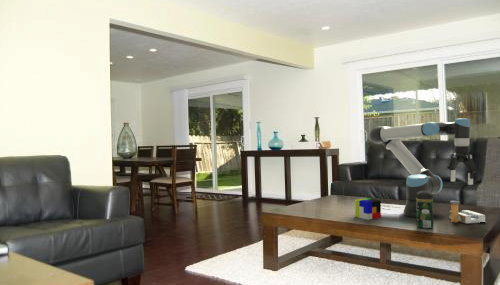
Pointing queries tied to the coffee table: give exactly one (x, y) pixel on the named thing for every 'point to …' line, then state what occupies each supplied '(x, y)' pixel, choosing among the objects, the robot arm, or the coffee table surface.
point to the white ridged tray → (469, 217)
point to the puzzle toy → (368, 208)
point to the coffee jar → (424, 209)
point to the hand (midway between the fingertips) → (461, 182)
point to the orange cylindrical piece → (454, 211)
